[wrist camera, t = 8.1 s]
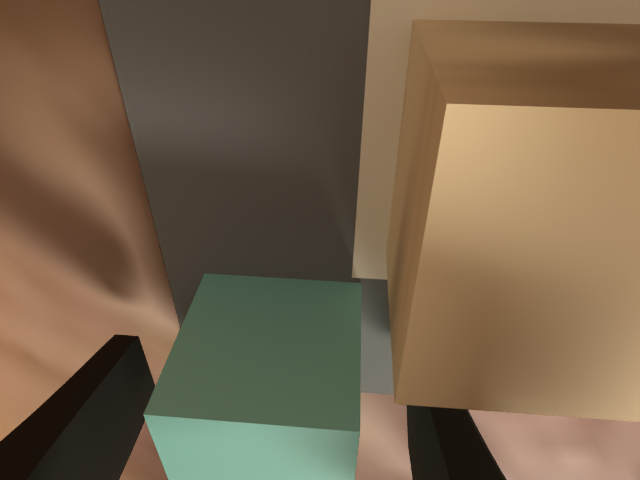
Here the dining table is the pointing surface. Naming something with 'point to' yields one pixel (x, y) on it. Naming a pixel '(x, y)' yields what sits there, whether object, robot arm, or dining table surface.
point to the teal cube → (262, 382)
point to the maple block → (518, 220)
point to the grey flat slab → (285, 133)
